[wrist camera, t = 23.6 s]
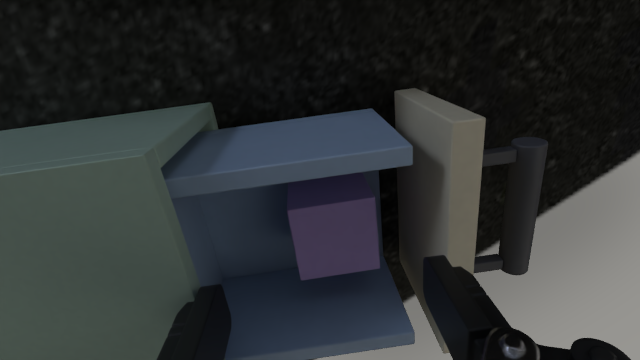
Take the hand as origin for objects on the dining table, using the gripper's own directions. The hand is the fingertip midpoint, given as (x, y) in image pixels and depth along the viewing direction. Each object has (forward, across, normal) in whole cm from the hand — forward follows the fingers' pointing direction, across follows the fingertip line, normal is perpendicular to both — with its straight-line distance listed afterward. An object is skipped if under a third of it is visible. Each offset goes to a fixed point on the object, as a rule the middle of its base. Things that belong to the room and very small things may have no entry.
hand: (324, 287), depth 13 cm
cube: (+7, -1, 0) cm, 7 cm away
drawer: (+8, -2, 0) cm, 8 cm away
